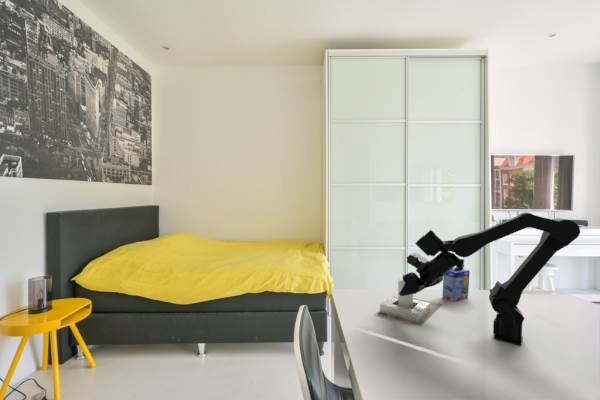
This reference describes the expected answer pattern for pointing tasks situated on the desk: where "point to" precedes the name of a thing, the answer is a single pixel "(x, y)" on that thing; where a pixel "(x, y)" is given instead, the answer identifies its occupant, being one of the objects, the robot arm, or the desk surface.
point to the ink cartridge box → (456, 284)
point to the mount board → (433, 309)
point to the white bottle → (404, 300)
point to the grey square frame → (405, 309)
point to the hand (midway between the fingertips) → (406, 292)
